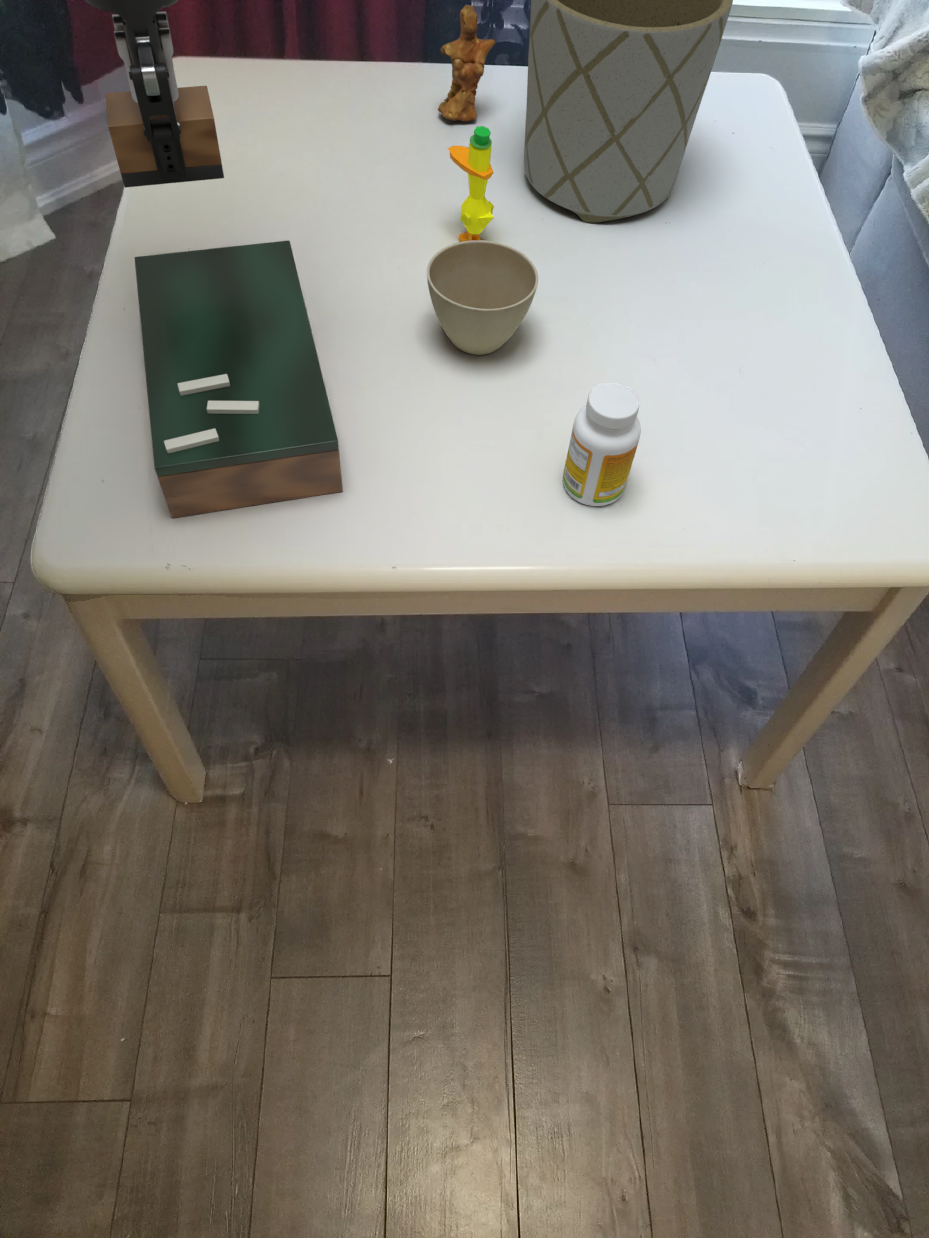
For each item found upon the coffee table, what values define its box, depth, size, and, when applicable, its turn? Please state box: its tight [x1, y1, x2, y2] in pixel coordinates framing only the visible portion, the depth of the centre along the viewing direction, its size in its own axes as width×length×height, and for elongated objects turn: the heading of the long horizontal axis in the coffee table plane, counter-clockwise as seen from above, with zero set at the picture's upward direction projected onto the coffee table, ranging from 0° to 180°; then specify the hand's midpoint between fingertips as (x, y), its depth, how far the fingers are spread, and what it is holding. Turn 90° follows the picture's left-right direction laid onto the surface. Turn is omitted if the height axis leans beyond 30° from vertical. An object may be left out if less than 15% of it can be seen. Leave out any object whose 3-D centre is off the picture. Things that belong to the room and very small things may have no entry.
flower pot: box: [426, 239, 539, 356], centre depth 85 cm, size 10×10×7 cm
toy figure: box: [447, 125, 495, 242], centre depth 91 cm, size 7×4×12 cm, turn 42°
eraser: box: [104, 85, 225, 188], centre depth 74 cm, size 8×5×5 cm, turn 105°
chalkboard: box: [134, 239, 344, 519], centre depth 79 cm, size 14×26×6 cm, turn 14°
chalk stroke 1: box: [178, 374, 230, 396], centre depth 74 cm, size 4×1×1 cm, turn 109°
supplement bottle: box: [562, 382, 642, 507], centre depth 74 cm, size 5×5×10 cm
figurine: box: [437, 4, 496, 122], centre depth 104 cm, size 5×6×12 cm
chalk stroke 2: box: [164, 428, 219, 454], centre depth 70 cm, size 4×1×1 cm, turn 112°
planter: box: [523, 0, 734, 224], centre depth 95 cm, size 19×19×20 cm
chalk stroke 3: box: [207, 401, 260, 414], centre depth 72 cm, size 4×1×1 cm, turn 92°
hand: (170, 158), depth 76 cm, fingers closed on eraser, 5 cm apart
